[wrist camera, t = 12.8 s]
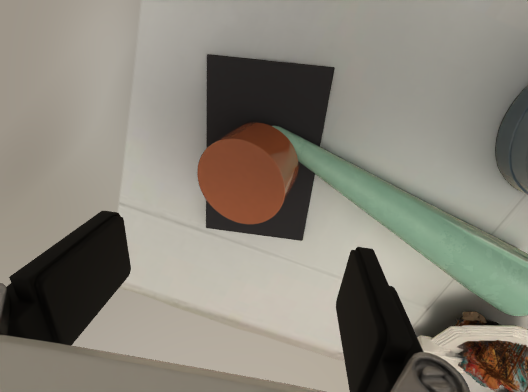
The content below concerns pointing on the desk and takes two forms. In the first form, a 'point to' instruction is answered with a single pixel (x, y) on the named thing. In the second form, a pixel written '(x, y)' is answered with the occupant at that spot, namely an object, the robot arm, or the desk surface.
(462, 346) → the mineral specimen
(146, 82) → the desk surface
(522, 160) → the plate stack
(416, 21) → the desk surface
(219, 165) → the orange-brown short cylinder
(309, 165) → the mint green cone
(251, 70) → the rubber mat
